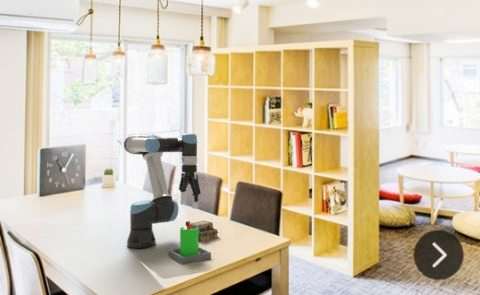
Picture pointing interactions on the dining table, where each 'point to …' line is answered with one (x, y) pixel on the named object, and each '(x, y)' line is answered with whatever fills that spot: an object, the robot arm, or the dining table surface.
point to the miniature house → (204, 230)
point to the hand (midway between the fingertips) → (189, 206)
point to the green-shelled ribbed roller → (188, 241)
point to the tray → (200, 256)
